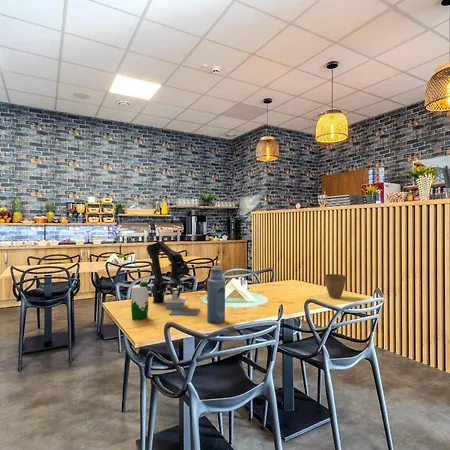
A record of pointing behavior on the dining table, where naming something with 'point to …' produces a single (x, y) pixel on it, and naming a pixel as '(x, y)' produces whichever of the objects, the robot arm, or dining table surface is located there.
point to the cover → (175, 298)
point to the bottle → (216, 296)
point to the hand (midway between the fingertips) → (175, 298)
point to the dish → (175, 305)
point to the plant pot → (335, 284)
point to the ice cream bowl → (205, 284)
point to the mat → (185, 312)
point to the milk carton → (139, 301)
